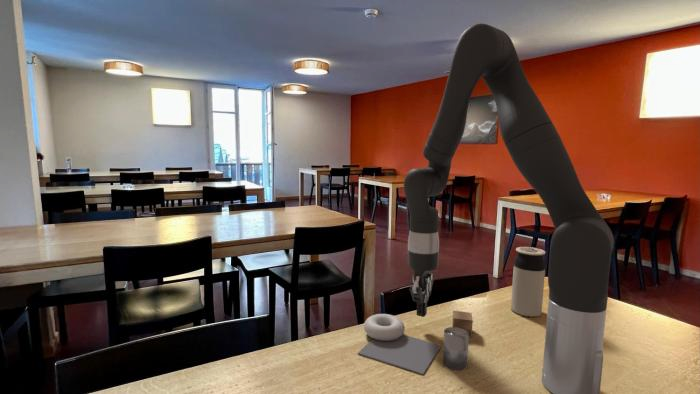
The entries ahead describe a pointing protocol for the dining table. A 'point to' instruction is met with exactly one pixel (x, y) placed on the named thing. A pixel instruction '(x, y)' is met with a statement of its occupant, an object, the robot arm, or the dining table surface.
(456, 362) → the grey cylinder
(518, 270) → the travel mug
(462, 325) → the walnut block
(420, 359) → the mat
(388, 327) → the donut
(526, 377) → the dining table surface
